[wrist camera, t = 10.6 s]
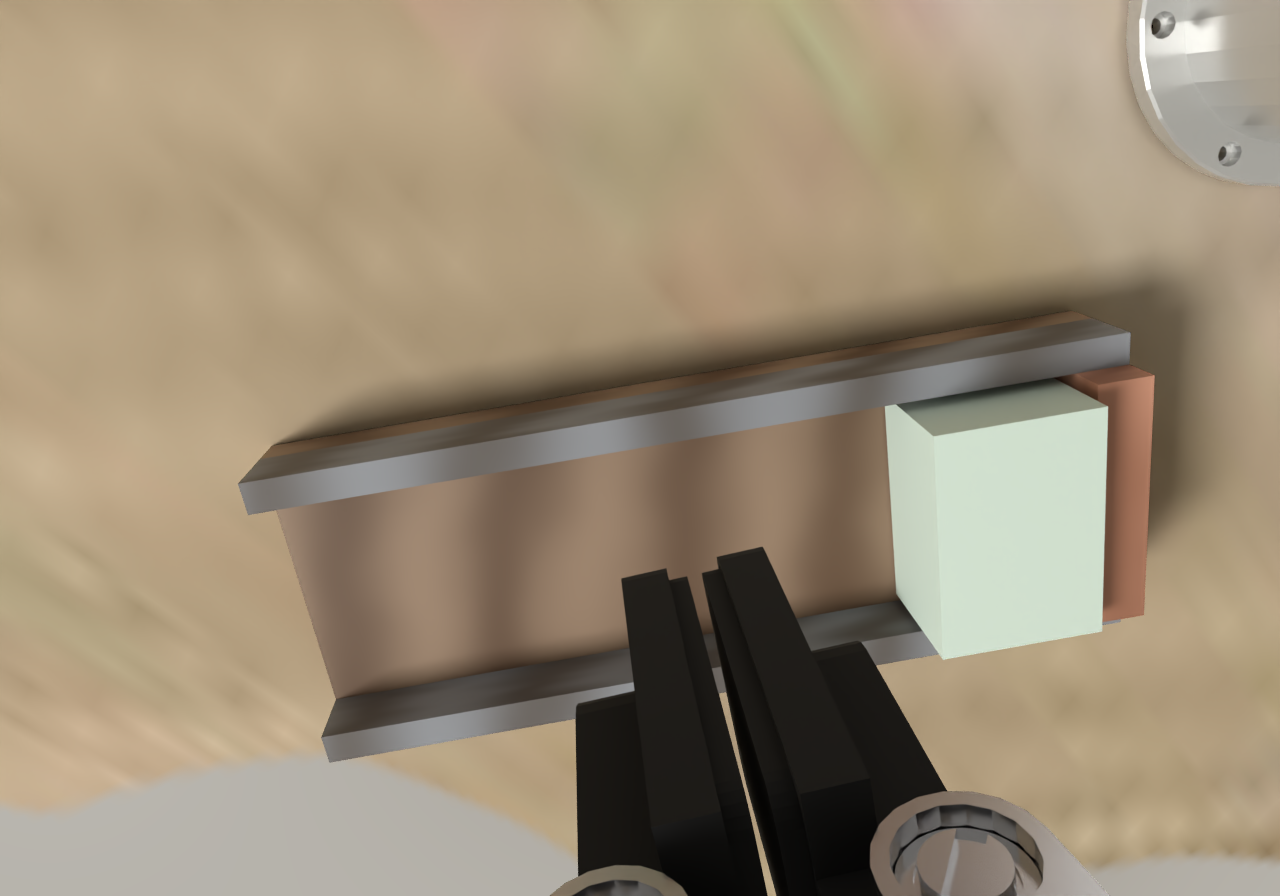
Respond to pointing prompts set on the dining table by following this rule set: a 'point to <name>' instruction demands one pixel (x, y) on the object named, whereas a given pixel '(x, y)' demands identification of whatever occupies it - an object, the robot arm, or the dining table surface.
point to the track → (644, 521)
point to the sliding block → (999, 514)
